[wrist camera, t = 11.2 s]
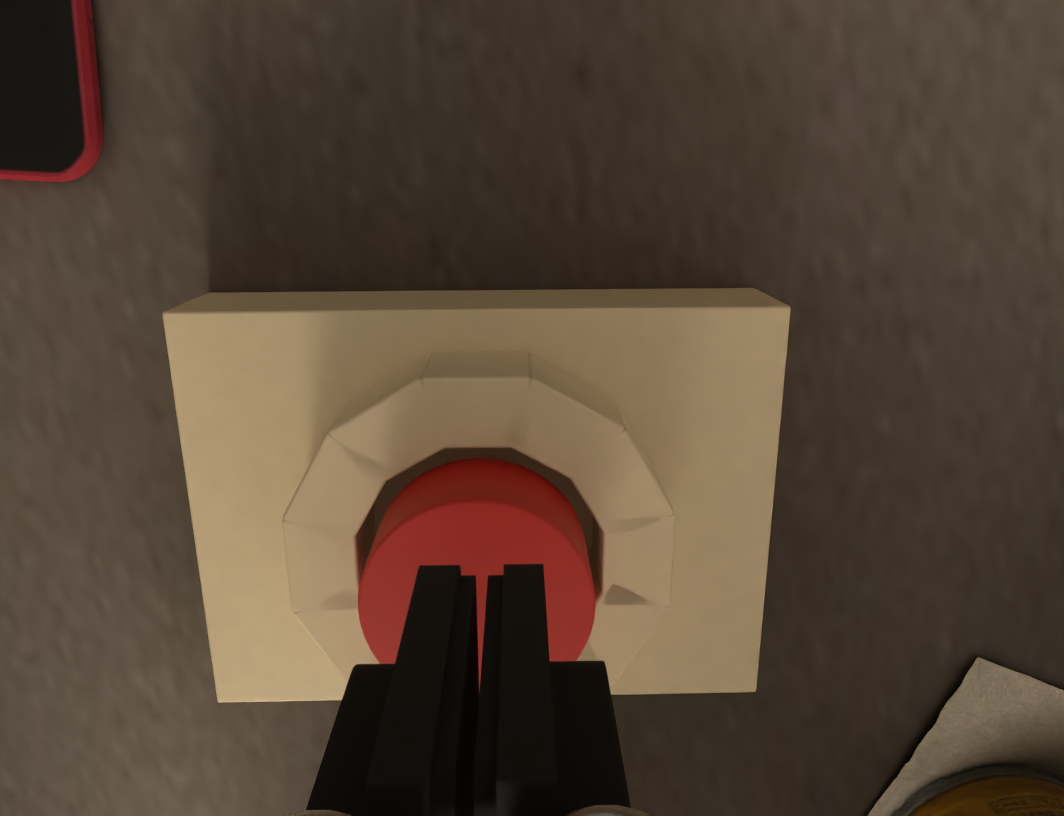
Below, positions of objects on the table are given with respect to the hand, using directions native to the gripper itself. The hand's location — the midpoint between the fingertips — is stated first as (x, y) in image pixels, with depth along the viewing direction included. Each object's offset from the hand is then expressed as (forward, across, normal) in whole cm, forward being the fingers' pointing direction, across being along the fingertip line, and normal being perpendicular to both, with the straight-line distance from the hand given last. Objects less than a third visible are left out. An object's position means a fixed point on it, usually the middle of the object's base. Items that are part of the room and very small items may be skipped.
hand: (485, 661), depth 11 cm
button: (+3, 0, 0) cm, 3 cm away
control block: (+7, 0, 0) cm, 7 cm away
